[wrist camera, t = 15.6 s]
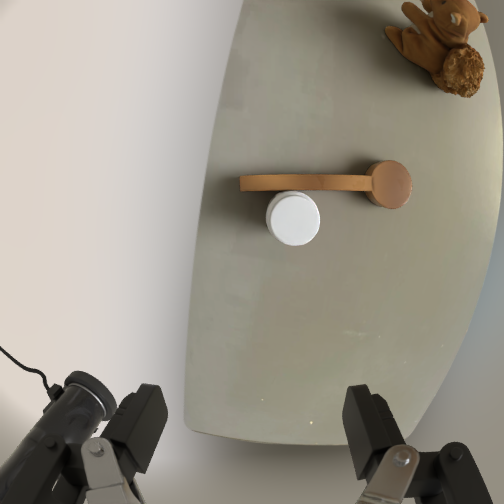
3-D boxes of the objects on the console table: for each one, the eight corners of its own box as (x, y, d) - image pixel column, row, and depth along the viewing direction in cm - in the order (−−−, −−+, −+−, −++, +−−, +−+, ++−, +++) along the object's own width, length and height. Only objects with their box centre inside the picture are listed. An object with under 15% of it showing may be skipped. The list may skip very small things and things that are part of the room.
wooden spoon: (243, 207, 30) (240, 209, 27) (241, 160, 28) (238, 158, 26) (402, 207, 28) (412, 209, 26) (402, 163, 27) (411, 162, 25)
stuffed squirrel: (426, 18, 21) (469, -22, 8) (472, 102, 23) (533, 84, 11) (374, 20, 22) (411, -35, 9) (425, 112, 25) (492, 86, 12)
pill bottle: (281, 241, 30) (285, 262, 22) (258, 205, 29) (253, 212, 21) (318, 218, 29) (335, 231, 21) (295, 181, 28) (304, 180, 20)
